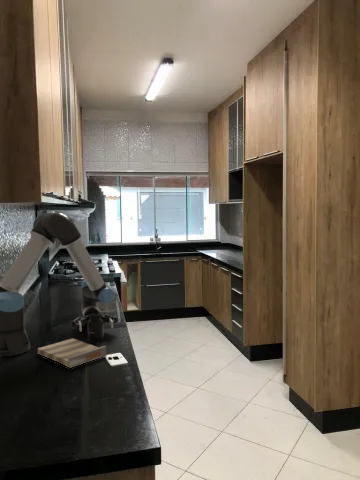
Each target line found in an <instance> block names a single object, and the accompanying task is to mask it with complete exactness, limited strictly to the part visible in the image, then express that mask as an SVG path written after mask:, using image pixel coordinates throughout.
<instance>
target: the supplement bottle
mask: <svg viewBox="0 0 360 480" xmlns="http://www.w3.org/2000/svg"><path fill="white" fill-rule="evenodd" d="M101 315H102V313H101V312H99V313H91V314H90V320H89V321H88V324H87V341H88V342H89V343H93V344H94V343H95V344H98V343H101V342H104V337H105V336H104V335H105V334H104V332H105V331H104V322H103V320H102V319H101ZM97 342H98V343H97Z"/></svg>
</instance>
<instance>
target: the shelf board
mask: <svg viewBox="0 0 360 480" xmlns="http://www.w3.org/2000/svg"><path fill="white" fill-rule="evenodd" d="M38 354H40V355H42V356H45V357H47V358H50V359H52V360H54V361H57V362H59V363H61V364H63V365H65V366H67V367H69V368H72V367H75V366H78V365H81V364H83V363H86V362H89V361H92V360H95V359H98V358H100V359H102V358H101V357H103V358H105V357H104V356H106V357H107V346H106V345H103V346H100V347H98V346H95V345H93V344H90V343H87V342H84V341H82V340H79V339H75V338H73V337H72V338H70V339H66V340H62V341H60V342H59V341H58V342H55V343H52V344H48V345H45V346H42V347H38V348H37V355H38ZM40 355H39V356H40ZM42 356H41V357H42ZM45 357H44V358H45ZM47 358H46V359H47ZM98 360H99V359H98ZM95 361H96V360H95ZM92 362H93V361H92ZM89 363H90V362H89ZM86 364H87V363H86ZM81 366H82V365H81ZM67 367H66V368H67ZM78 367H79V366H78ZM69 368H68V369H69ZM75 368H76V367H75ZM72 369H73V368H72Z"/></svg>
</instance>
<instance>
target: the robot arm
mask: <svg viewBox="0 0 360 480" xmlns="http://www.w3.org/2000/svg"><path fill="white" fill-rule="evenodd" d="M29 233H30V234H29V235H30V238H29V239H28V241H27V242H26V244H25V245H24V246H23V249H22V250H21V251H20V253H19V254H18V255H17V258H16V259H15V260H14V262H13V263H12V265H11V266H10V268H9V269H8V271H7V272H6V274H5V275H4V277H3V278H2V280H1V281H0V356H9V357H13V355H15V356H18V354H19V355H22V354H24V352H25V353H26V352H28V351H30V349H31V341H30V339H29V337H28V334H27V331H26V324H25V323H26V321H25V319H26V318H25V300H24V299H25V298H24V295H23V294H21V293H20V290H21V289H22V288H23V286H24V284H25V283H26V281H27V279H28V278H29V277H30V275H31V274H32V272H33V271H34V269H35V267H36V266H37V264H38V262H39V261H40V259H41V258H42V257H43V255H44V253H45V252H46V250H47V249H48V247H53V246H54V244H55V242H56V241H59V243H60V244H61V247H65V249H66V250H67V252H68V254H69V255H70V257H71V259H72V260H73V262H74V264H75V266H76V267H77V270H78V271H79V273H80V274H81V276H82V278H83V280H82V281H81V282H80V283H81V284H80V285H81V288H80V290H81V291H80V292H81V308H80V309H81V313H82V315H83V317H82V316H81V315H78V316H77V317H76V318H75V319H74V320H72V321H71V328H75V329H76V330H77V329H79V332H82V331H83V330H82V329H83V328H82V326H83V325H88V321H89V320H90V314H91V313H100V311H99V309H98V303H100V304H110V303H111V302H112V301H113V300H114V297H115V292H114V291H113V289H111V288H109V287H108V286H107V285H106V283H105V281H104V279H103V278H102V276H101V273H100V272H99V270H98V268H97V266H96V264H95V263H94V260H93V259H92V257H91V255H90V253H89V252H88V250H87V248H86V247H85V244H84V243H83V241H82V235H81V233H80V231H79V228H77V226H76V224H75V223H74V221H73V220H72V218H71V217H69V216H68V215H67V214H66V213H63V212H45V213H40V214H39V215H37V217H35V219H34V221H33V223H32V229H31V231H30V232H29ZM101 319H102V320H103V323H107V324H109V325H110V328H111V329H114V325H115V324H117V323H118V317H117V316H114V315H111V314H108V313H105V314H104V315H103V314H101Z"/></svg>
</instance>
